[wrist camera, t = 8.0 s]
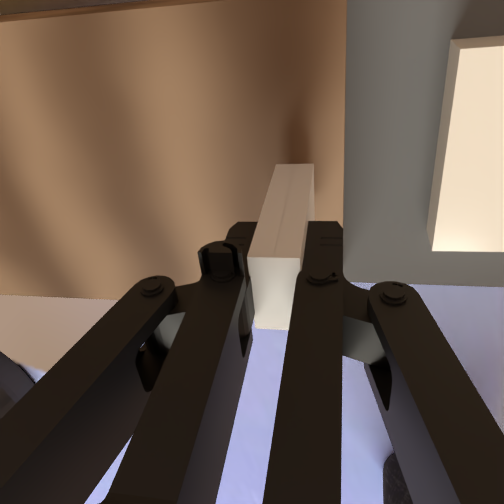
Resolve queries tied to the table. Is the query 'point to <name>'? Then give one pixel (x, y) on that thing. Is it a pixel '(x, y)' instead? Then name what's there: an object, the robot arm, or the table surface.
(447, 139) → the tile
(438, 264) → the mat
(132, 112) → the wooden block
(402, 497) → the travel mug
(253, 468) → the table surface
